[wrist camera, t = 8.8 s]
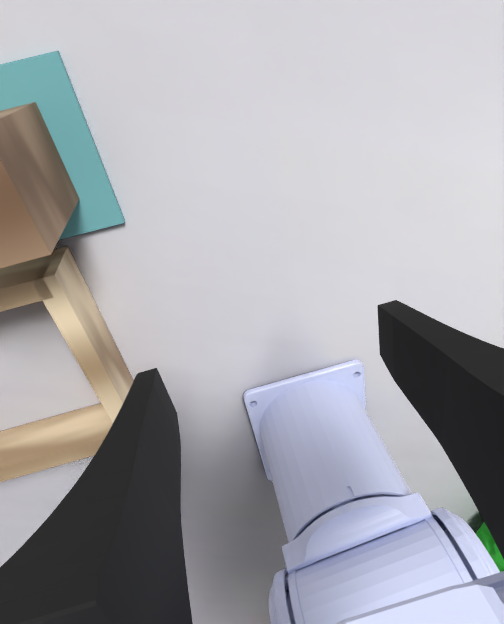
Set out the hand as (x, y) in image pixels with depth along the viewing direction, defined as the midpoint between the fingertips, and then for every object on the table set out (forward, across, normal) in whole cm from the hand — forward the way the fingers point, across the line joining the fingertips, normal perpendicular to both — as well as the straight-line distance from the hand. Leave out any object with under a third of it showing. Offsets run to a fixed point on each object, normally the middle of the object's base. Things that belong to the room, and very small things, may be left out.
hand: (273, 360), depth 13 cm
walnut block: (+10, +8, -6) cm, 14 cm away
